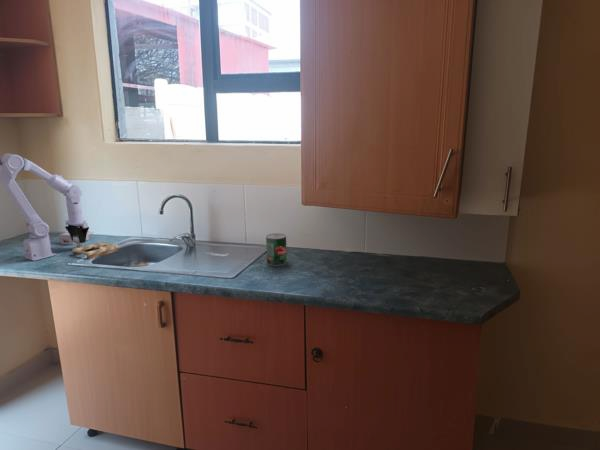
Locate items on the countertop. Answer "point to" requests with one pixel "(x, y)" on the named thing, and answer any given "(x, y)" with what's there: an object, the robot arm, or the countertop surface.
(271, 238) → the canned tomato
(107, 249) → the keyhole plate
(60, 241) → the charger
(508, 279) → the countertop surface
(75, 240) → the peg
